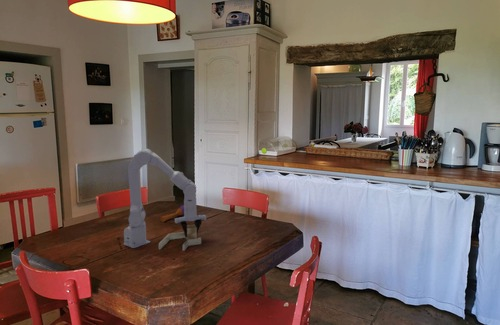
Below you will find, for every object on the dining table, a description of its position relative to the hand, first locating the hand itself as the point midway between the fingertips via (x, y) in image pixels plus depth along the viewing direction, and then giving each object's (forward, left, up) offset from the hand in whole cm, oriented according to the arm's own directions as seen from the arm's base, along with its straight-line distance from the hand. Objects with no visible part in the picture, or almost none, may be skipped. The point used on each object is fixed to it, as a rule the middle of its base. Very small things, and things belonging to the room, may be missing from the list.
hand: (190, 235), depth 171 cm
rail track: (-5, +1, -2) cm, 6 cm away
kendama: (+20, +35, -3) cm, 40 cm away
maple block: (0, 0, -1) cm, 1 cm away
